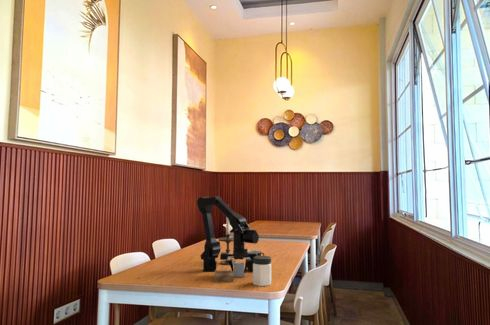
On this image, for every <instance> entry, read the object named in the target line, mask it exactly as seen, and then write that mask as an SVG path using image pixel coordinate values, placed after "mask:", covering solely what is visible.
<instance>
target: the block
mask: <svg viewBox="0 0 490 325" xmlns="http://www.w3.org/2000/svg"><path fill="white" fill-rule="evenodd" d="M233 269H234V278H235V277H239V278H243V277H245V273H244V269H245V262H243V261H242V262H239V261H238V262H236V261H235V262H234V264H233Z"/></svg>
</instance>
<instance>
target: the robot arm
mask: <svg viewBox="0 0 490 325" xmlns="http://www.w3.org/2000/svg"><path fill="white" fill-rule="evenodd" d="M196 205H197V209H198V210H199V212H200V213H201V216H202V217H201V218H202V223H203V229H204V236H205V242H204V247H203V248H204V250H203V252H202V253H201V254H200V260H203V268H202V272H216V271H217V267H218V266H217V263H218V262H217V260H216V259H218V257H219V256H220V257H219V258H220V259H219V260H220V261H225V260H226V261H228V262H229V264H230V265H229V266H230V269H231V270H230V271H234V264H233V261H236V260H245V262H244V274H247V266H248V264H249V262H250V261H252V260H254V259H253V258H254V257H255V256H258V255H257V253H256V252H250V254H247V251H248V248H246V246H245V244H246V243H247V244H255V245H256V244H258V243H259V239H260V236H259V233H258V232H257V229H254V228H253V229H251V227H250V226H249V224H248V222H247V219H246V218H245V217H244V216H243V215H241V214H239V213H237V212H235V211H234V210H233V209H232V208H231V207H230V205H229V206H228V204H227V203H226V201H224V200H223V199H222V197H221V196H212V197H210V196H200V197H199V198H197V200H196ZM213 205H214V206H215V207H216V208H217V209H218V210H219V211H220V212H221V213H222V214H223V215H224V216H225V217H227V218H228V219H229V223H230V226H231V227H232V229H231V230H229V234H233V236H232V237H233V241H232V242H233V248H232V249H233V250H232V253H229V254H228V252H226V251H225V252H223V251H222V252H221V249H222V247H221V241H219V240H217V239H216V235H215V229H214V224H213V223H214V222H213V217H212V210H213V207H214V206H213ZM233 259H234V260H233Z"/></svg>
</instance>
